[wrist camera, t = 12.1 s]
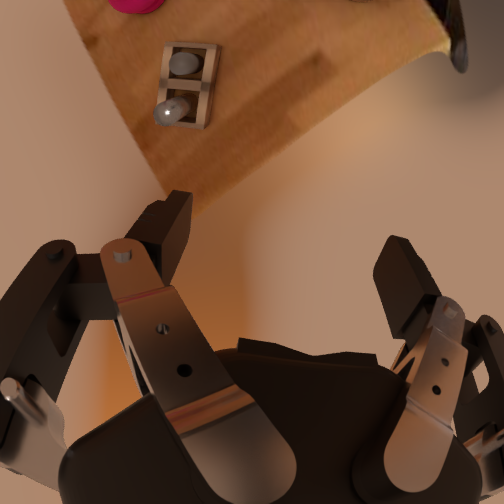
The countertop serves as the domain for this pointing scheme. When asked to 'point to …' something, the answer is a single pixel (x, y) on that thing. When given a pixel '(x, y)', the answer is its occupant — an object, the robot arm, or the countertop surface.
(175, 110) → the pin
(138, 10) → the pepper mill
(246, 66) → the countertop surface
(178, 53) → the wooden divided tray
